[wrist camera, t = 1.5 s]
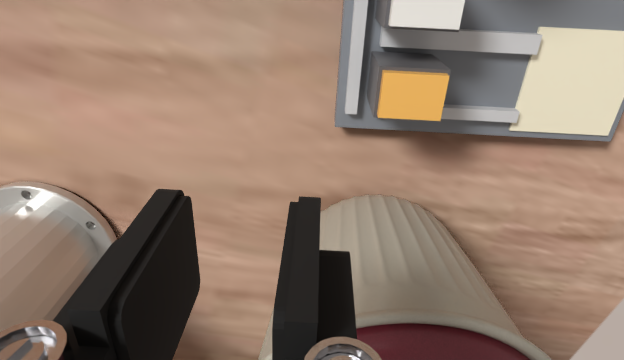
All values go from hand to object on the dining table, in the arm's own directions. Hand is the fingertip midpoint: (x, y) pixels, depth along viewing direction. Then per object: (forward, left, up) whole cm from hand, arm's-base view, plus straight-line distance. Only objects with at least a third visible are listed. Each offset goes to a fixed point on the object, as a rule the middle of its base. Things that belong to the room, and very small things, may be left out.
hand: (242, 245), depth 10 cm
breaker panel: (+3, -13, -21) cm, 25 cm away
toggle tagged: (0, -7, -19) cm, 21 cm away
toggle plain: (+5, -7, -19) cm, 21 cm away
